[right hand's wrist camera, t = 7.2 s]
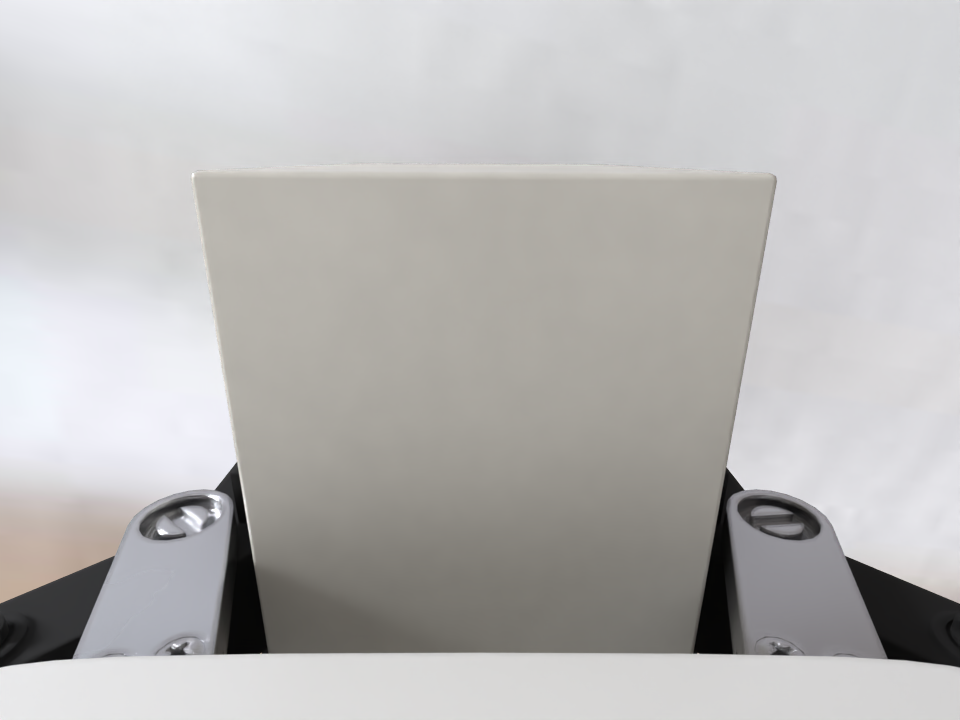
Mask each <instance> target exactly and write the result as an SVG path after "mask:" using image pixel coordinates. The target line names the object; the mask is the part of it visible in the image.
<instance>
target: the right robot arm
mask: <svg viewBox="0 0 960 720" xmlns="http://www.w3.org/2000/svg"><path fill="white" fill-rule="evenodd" d="M261 652H262V654H260V653H261ZM697 653H699V654H697ZM0 720H960V604H959V603H956V602H954V601H952V600H949V599H947V598H944V597H942V596H940V595H937V594H935V593H932V592H930V591H928V590H925V589H923V588H920V587H918V586H916V585H913V584H911V583H909V582H906V581H904V580H901V579H899V578H897V577H894V576H892V575H889V574H887V573H885V572H882V571H880V570H877V569H875V568H873V567H870V566H868V565H865V564H863V563H861V562H858V561H856V560H853V559H851V558H849V557H846V556H845V555H844V553H843V550H842V548H841V546H840V543H839V541H838V538H837V536H836V534H835V531H834V529H833V526H832V525H831V523H830V522H829V520H828V519H827V517H826V516H825V515H824V514H822V513H821V512H820V511H819V510H817V509H816V508H815V507H813V506H811V505H810V504H808V503H806V502H804V501H802V500H800V499H797V498H795V497H792V496H789V495H787V494H783V493H778V492H774V491H768V490H757V489H756V490H744V489H743V488H742V487H741V485H740V484H739V483H738V481H737V480H736V479H735V478H734V476H733V475H732V474H731V473H730V471H729V470H728V469H727V468H726V471H725V477H724V482H723V488H722V494H721V499H720V505H719V511H718V516H717V522H716V527H715V533H714V539H713V544H712V550H711V556H710V561H709V567H708V573H707V578H706V584H705V590H704V595H703V601H702V607H701V612H700V618H699V623H698V629H697V635H696V640H695V646H694V652H693V654H654V653H306V654H269V653H268V647H267V641H266V635H265V629H264V623H263V617H262V611H261V604H260V598H259V592H258V586H257V580H256V574H255V568H254V562H253V555H252V549H251V543H250V537H249V531H248V525H247V519H246V513H245V506H244V500H243V494H242V488H241V482H240V476H239V470H238V464H237V463H236V464H235V465H234V466H233V468H232V469H231V470H230V472H229V473H228V474H227V475H226V477H225V478H224V479H223V480H222V482H221V483H220V484H219V485H218V487H217V488H216V489H215V490H204V489H203V490H192V491H186V492H182V493H177V494H173V495H171V496H168V497H165V498H163V499H160V500H158V501H156V502H154V503H152V504H150V505H149V506H147V507H145V508H144V509H143V510H141V511H140V512H139V513H138V514H136V515H135V516H134V517H133V519H132V520H131V522H130V523H129V525H128V526H127V529H126V531H125V534H124V536H123V538H122V541H121V543H120V546H119V548H118V550H117V553H116V555H115V556H113V557H111V558H108V559H106V560H104V561H101V562H99V563H96V564H94V565H92V566H89V567H87V568H84V569H82V570H80V571H77V572H75V573H72V574H70V575H68V576H65V577H63V578H61V579H58V580H56V581H53V582H51V583H49V584H46V585H44V586H41V587H39V588H37V589H34V590H32V591H29V592H27V593H25V594H22V595H20V596H17V597H15V598H13V599H10V600H8V601H5V602H3V603H1V604H0Z"/></svg>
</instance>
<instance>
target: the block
mask: <svg viewBox="0 0 960 720" xmlns="http://www.w3.org/2000/svg"><path fill="white" fill-rule="evenodd" d="M191 182H192V188H193V194H194V200H195V206H196V213H197V219H198V225H199V231H200V237H201V243H202V249H203V255H204V262H205V268H206V274H207V280H208V286H209V292H210V298H211V304H212V311H213V317H214V323H215V329H216V335H217V341H218V347H219V353H220V360H221V366H222V372H223V378H224V384H225V390H226V396H227V402H228V409H229V415H230V421H231V427H232V433H233V439H234V445H235V451H236V457H237V464H238V470H239V476H240V482H241V488H242V494H243V500H244V506H245V513H246V519H247V525H248V531H249V537H250V543H251V549H252V555H253V562H254V568H255V574H256V580H257V586H258V592H259V598H260V604H261V611H262V617H263V623H264V629H265V635H266V641H267V647H268V653H269V654H306V653H654V654H693V652H694V646H695V640H696V635H697V629H698V623H699V618H700V612H701V607H702V601H703V595H704V590H705V584H706V578H707V573H708V567H709V561H710V556H711V550H712V544H713V539H714V533H715V527H716V522H717V516H718V511H719V505H720V499H721V494H722V488H723V482H724V477H725V471H726V465H727V460H728V454H729V448H730V443H731V437H732V431H733V426H734V420H735V414H736V409H737V403H738V398H739V392H740V386H741V381H742V375H743V369H744V364H745V358H746V352H747V347H748V341H749V335H750V330H751V324H752V318H753V313H754V307H755V301H756V296H757V290H758V285H759V279H760V273H761V268H762V262H763V256H764V251H765V245H766V239H767V234H768V228H769V222H770V217H771V211H772V205H773V200H774V194H775V188H776V183H777V180H776V176H775V175H773V174H770V173H755V172H736V171H717V170H698V169H679V168H660V167H641V166H622V165H603V164H435V163H353V164H331V165H309V166H287V167H264V168H242V169H220V170H198V171H196V172H193V173H192V175H191Z"/></svg>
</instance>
